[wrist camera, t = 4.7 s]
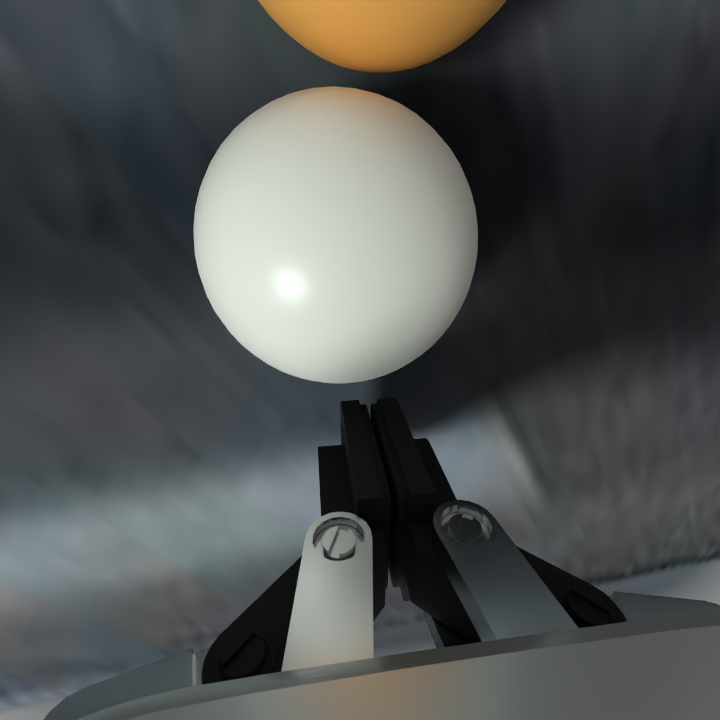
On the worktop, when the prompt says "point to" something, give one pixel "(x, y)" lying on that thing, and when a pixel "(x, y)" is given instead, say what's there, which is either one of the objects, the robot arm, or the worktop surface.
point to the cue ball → (335, 234)
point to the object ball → (381, 29)
